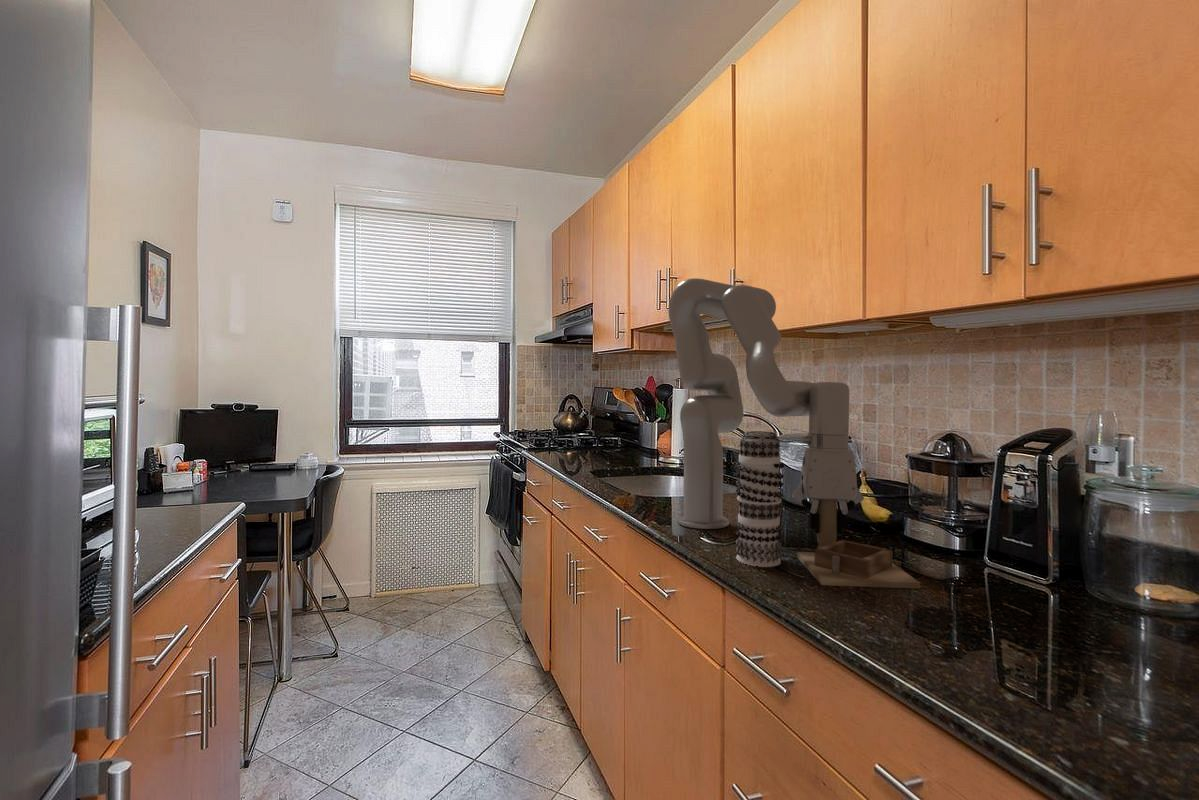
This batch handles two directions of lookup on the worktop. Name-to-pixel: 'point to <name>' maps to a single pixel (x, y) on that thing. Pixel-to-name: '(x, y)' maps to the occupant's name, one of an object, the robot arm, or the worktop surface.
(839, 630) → the worktop surface
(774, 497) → the decorative candle
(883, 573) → the socket plate
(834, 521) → the handle
